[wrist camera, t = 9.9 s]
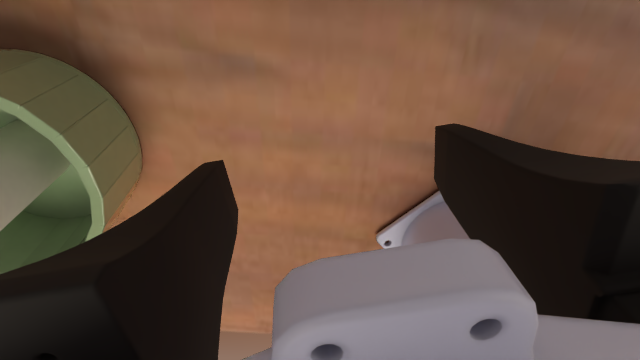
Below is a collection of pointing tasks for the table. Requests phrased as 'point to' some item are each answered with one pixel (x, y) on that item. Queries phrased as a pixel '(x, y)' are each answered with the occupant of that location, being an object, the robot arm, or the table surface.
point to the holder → (76, 145)
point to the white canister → (25, 168)
